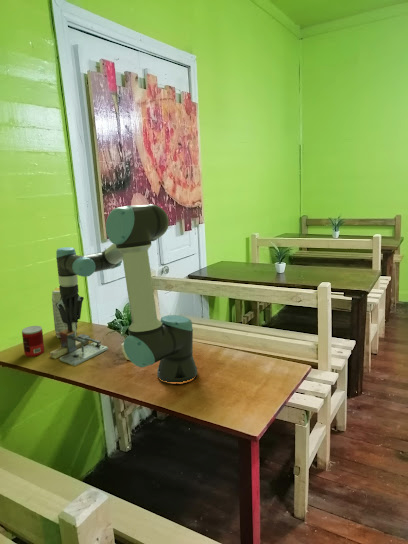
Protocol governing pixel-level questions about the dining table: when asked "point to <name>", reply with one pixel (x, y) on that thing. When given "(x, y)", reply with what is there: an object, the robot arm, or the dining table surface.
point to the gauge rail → (64, 350)
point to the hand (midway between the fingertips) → (73, 336)
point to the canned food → (33, 341)
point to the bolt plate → (83, 354)
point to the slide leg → (70, 340)
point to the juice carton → (57, 313)
